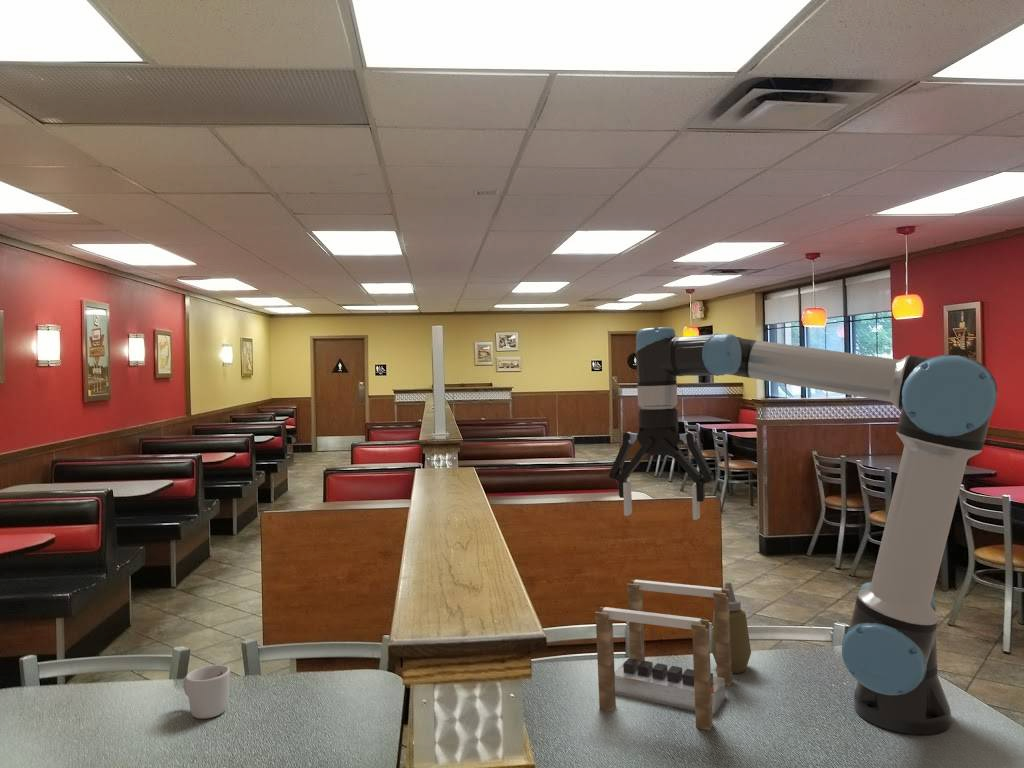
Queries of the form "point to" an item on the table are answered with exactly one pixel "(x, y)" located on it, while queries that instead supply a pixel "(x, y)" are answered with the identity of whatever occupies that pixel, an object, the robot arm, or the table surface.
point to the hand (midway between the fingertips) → (661, 516)
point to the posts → (637, 652)
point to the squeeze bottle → (735, 634)
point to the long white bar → (651, 618)
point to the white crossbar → (677, 588)
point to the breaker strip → (663, 684)
